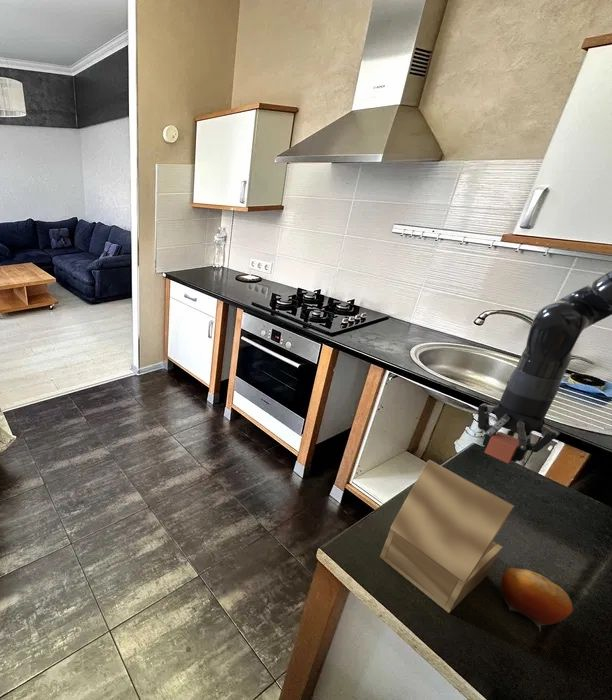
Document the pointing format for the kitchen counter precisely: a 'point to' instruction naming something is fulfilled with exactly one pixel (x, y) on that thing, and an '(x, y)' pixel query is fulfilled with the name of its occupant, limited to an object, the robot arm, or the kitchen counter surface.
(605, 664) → the kitchen counter surface
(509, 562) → the kitchen counter surface
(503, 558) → the kitchen counter surface
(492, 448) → the block
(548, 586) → the fruit
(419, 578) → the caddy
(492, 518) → the lid
